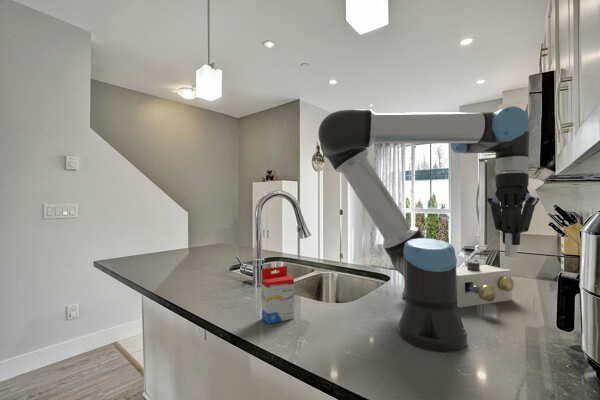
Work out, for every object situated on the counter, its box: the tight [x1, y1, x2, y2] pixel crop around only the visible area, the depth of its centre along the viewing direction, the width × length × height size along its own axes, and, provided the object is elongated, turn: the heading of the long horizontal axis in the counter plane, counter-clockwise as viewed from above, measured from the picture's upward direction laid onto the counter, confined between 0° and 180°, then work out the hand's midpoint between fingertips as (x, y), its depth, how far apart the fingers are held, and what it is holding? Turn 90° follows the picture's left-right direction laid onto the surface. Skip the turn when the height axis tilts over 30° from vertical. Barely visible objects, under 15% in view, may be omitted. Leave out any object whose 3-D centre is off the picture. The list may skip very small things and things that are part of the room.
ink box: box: [261, 265, 295, 325], centre depth 81 cm, size 8×5×15 cm, turn 117°
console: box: [456, 264, 513, 309], centre depth 94 cm, size 22×9×10 cm, turn 106°
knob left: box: [465, 283, 496, 302], centre depth 85 cm, size 4×9×4 cm, turn 16°
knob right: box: [498, 277, 515, 292], centre depth 94 cm, size 4×9×4 cm, turn 16°
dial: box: [466, 261, 481, 271], centre depth 94 cm, size 4×4×3 cm
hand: (511, 256), depth 79 cm, fingers closed
